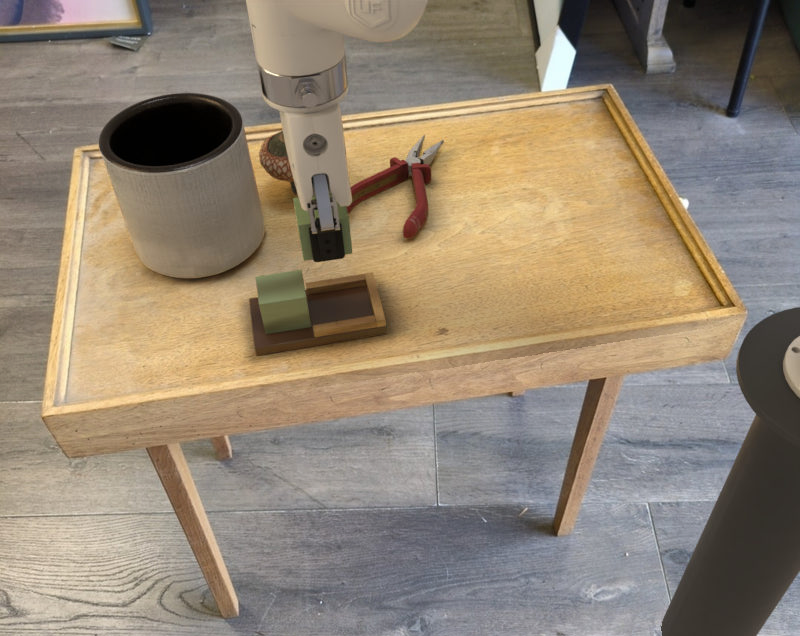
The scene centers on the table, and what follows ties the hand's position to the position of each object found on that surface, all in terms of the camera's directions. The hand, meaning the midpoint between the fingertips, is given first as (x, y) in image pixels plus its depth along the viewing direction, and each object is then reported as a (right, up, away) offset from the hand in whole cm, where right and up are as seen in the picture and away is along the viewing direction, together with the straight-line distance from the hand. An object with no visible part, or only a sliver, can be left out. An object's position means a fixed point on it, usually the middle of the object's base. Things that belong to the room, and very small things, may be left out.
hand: (325, 240), depth 85 cm
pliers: (+9, +10, +22) cm, 26 cm away
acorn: (-6, +11, +24) cm, 27 cm away
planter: (-17, +3, +18) cm, 25 cm away
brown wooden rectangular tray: (-2, -7, +8) cm, 11 cm away
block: (0, 0, 0) cm, 0 cm away
